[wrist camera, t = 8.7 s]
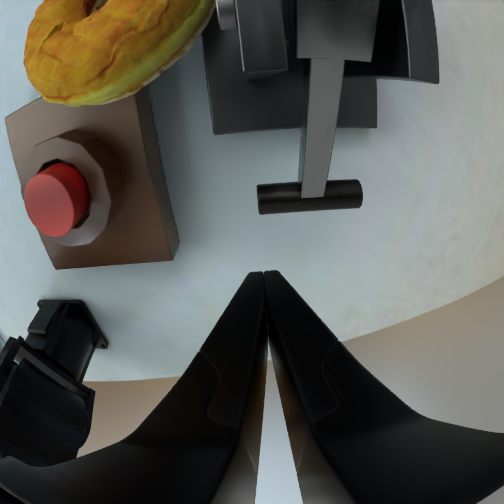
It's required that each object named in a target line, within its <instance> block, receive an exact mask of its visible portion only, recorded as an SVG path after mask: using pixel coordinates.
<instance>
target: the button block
mask: <svg viewBox="0 0 504 504" xmlns="http://www.w3.org/2000/svg"><path fill="white" fill-rule="evenodd" d="M5 124H6V129H7V134H8V138H9V143H10V147H11V151H12V155H13V159H14V163H15V166H16V170H17V173H18V176H19V180H20V183H21V193H22V197H23V200H24V194H25V189H26V186H27V184H28V182H29V181H30V179H31V178H32V177H34V176H35V175H37V174H38V173H40V172H41V171H43V170H45V169H46V168H48V167H50V166H51V165H53V164H56V163H65V164H68V165H70V166H72V167H74V168H75V169H76V170H77V171H78V172H79V173H80V174H81V175H82V176H83V178H84V180H85V182H86V184H87V187H88V191H89V206H88V209H87V212H86V213H85V215H84V216H83V217H82V218H81V219H80V220H79V221H78V222H77V223H76V225H75V226H74V227H73V228H72V229H71V230H70V231H69V232H68V233H67V234H65V235H63V236H60V237H52V236H48V235H46V234H44V233H43V232H41V231H40V230H39V229H38V228H37V230H38V232H39V235H40V237H41V239H42V242H43V244H44V246H45V248H46V251H47V253H48V255H49V257H50V259H51V261H52V263H53V266H54V268H55V269H56V270H58V269H71V268H84V267H97V266H109V265H122V264H135V263H147V262H160V261H172V260H173V259H174V256H175V253H176V251H177V248H178V245H179V242H180V241H179V237H178V233H177V229H176V225H175V221H174V217H173V213H172V209H171V204H170V200H169V196H168V191H167V187H166V182H165V177H164V173H163V168H162V163H161V158H160V153H159V148H158V143H157V137H156V132H155V126H154V121H153V115H152V109H151V102H150V96H149V89H148V84H147V85H146V86H144V87H142V88H141V89H140V90H139V91H138V92H137V93H135V94H132V95H130V96H128V97H126V98H123V99H120V100H117V101H114V102H111V103H108V104H105V105H84V106H78V107H71V106H67V105H63V104H57V103H50V102H48V101H46V100H45V99H43V97H40V98H38V99H36V100H34V101H33V102H31V103H29V104H27V105H25V106H24V107H22V108H20V109H18V110H17V111H15V112H13V113H12V114H10V115H8V116H7V117H5ZM24 203H25V202H24Z"/></svg>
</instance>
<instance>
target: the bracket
mask: <svg viewBox="0 0 504 504" xmlns="http://www.w3.org/2000/svg"><path fill="white" fill-rule="evenodd" d="M215 2H216V7H215V9H214V11H213V14H212V16H211V18H210V20H209V22H208V24H207V26H206V27H205V28H204V30H203V31H202V33H201V36H202V45H203V53H204V62H205V70H206V79H207V87H208V95H209V103H210V110H211V118H212V125H213V133H214V135H220V134H229V133H238V132H248V131H260V130H274V129H291V128H301V120H302V96H303V63H304V58H296V57H295V55H294V53H293V51H292V49H291V47H290V45H289V43H288V41H287V39H286V37H285V30H284V22H283V13H282V0H215ZM376 79H390V80H404V81H414V82H423V83H431V84H439V60H438V46H437V35H436V26H435V19H434V12H433V6H432V0H380V6H379V14H378V23H377V30H376V37H375V44H374V51H373V57H372V62H365V61H354V60H345V65H344V74H343V82H342V89H341V97H340V104H339V111H338V118H337V124H336V128H377V84H376Z"/></svg>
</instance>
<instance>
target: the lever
mask: <svg viewBox="0 0 504 504" xmlns="http://www.w3.org/2000/svg"><path fill="white" fill-rule="evenodd" d="M379 6H380V0H282V13H283V22H284V30H285V37H286V39H287V41H288V43H289V45H290V47H291V49H292V51H293V53H294V55H295V57H296V58H304V63H303V96H302V120H301V139H300V156H299V171H298V182H287V183H273V184H261V185H257V199H258V210H259V214H260V215H264V214H276V213H289V212H303V211H318V210H335V209H353V208H360V207H361V205H362V201H363V191H362V186H361V184H360V182H359V180H357V179H350V180H327V177H328V172H329V166H330V161H331V155H332V149H333V143H334V137H335V131H336V124H337V118H338V111H339V104H340V97H341V89H342V82H343V74H344V65H345V60H354V61H365V62H372V57H373V51H374V44H375V37H376V30H377V23H378V14H379Z"/></svg>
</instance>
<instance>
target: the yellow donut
mask: <svg viewBox="0 0 504 504" xmlns="http://www.w3.org/2000/svg"><path fill="white" fill-rule="evenodd" d="M215 7H216V2H215V0H44V1H43V3H42V4H41V5H40V6H39V7H38V9H37V10H36V12H35V17H34V19H33V20H32V22H31V24H30V25H29V28H28V32H27V39H26V44H25V50H24V56H25V58H24V66H25V68H26V72H27V76H28V79H29V80H30V82H31V83H32V85H33V86H34V87H35V88H36V89H37V90H38V91H39V93H40V94H41V96H42V97H43V99H45V100H46V101H48V102H50V103H57V104H63V105H67V106H71V107H78V106H84V105H105V104H108V103H111V102H114V101H117V100H120V99H123V98H126V97H128V96H130V95H132V94H135V93H137V92H138V91H139V90H140V89H141V88H142V87H144V86H146V85H147V84H149V83H150V82H152V81H153V80H155V79H156V78H157V77H159V76H160V75H161V74H162V73H163V72H164V71H165V70H166V69H167V68H169V67H170V66H171V65H172V64H173V63H175V62H176V61H178V60H180V59H181V57H182V56H183V55H184V54H185V53H186V52H187V51H188V50H189V49H190V48H191V47H192V46H193V45H194V44H195V42H196V41H197V39H198V37H199V35H200V34H201V33H202V31H203V30H204V28H205V27H206V26H207V24H208V22H209V20H210V18H211V16H212V14H213V11H214V9H215Z"/></svg>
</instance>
